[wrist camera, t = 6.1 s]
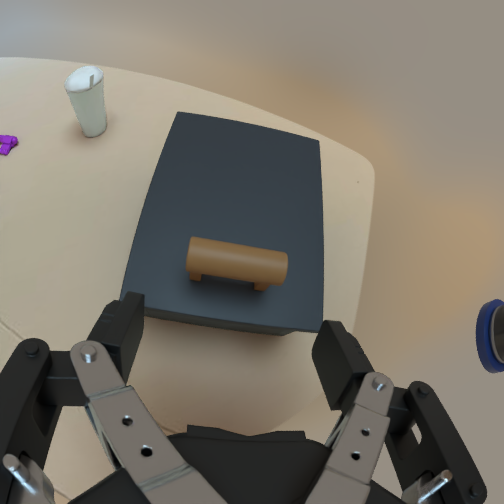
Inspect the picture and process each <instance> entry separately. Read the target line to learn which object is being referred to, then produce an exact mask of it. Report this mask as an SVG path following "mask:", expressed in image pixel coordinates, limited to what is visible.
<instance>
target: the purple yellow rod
mask: <svg viewBox="0 0 504 504" xmlns="http://www.w3.org/2000/svg"><path fill="white" fill-rule="evenodd" d="M17 141H18V139H17V137H15V136H9V135H0V142H2V143H3V144H2V146H1V148H0V154H5V155H7V154H8V152H9V150H10V148H11V147H14V145H15V144H16V143H17Z"/></svg>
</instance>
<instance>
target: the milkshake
mask: <svg viewBox="0 0 504 504" xmlns="http://www.w3.org/2000/svg"><path fill="white" fill-rule="evenodd" d="M64 87H65V89H66V92H67V94H68V97H69V99H70V102H71V104H72V106H73V109H74V112H75V114H76V117H77V119H78V122H79V124H80V127H81V129H82V132H83V133H84V134H85V136H86V137H95V136H98V135H100V134H101V133H102V132H103V131H105V130H106V125H107V122H106V112H105V101H104V82H103V72H102V70H101V69H99V68H98V67H95V66H84V67H81V68H79V69H77V70H75V71H74V72H73V73H72V74H71V75H70V76H69V77H68V78H67V79H66V81H65V84H64Z"/></svg>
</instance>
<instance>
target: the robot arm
mask: <svg viewBox="0 0 504 504" xmlns="http://www.w3.org/2000/svg"><path fill="white" fill-rule="evenodd" d="M144 306H145V295H144V294H141V293H136V292H131V291H127V293H126V294H125V296H124V298H123V300H122V301H118V300H114V301H112V302H111V303H109V304H108V305H106V307H105V308H104V310H103V312H102V314H101V315H100V317H99V319H98V320H97V322H96V324H95V325H94V327H93V329H92V331H91V332H90V334H89V336H88V338H87V340H86V341H81V342H79V343H77V344H75V345H74V346H73V347H72V349H71V351H50V349H49V346H48V344H47V343H46V342H45V341H43V340H41V339H37V338H30V339H26V340H24V341H22V342H20V343H19V344H18V346H17V347H16V349H15V350H14V352H13V353H12V355H11V357H10V358H9V360H8V361H7V363H6V365H5V366H4V368H3V370H2V371H1V373H0V504H55V501H54V488H53V485H52V483H51V481H50V479H49V478H48V477H47V476H46V475H45V473H44V472H43V469H44V465H45V462H46V458H47V454H48V451H49V447H50V444H51V441H52V437H53V434H54V431H55V428H56V425H57V422H58V419H59V416H60V413H61V410H62V407H63V406H84V409H85V411H86V413H87V415H88V418H89V420H90V422H91V424H92V426H93V428H94V430H95V432H96V434H97V436H98V438H99V440H100V443H101V445H102V447H103V449H104V451H105V453H106V456H107V458H108V459H109V461H110V463H111V465H112V467H113V468H114V470H115V472H113V473H112V474H110V475H109V476H107V477H106V478H105V479H103V480H102V481H100V482H99V483H97V484H96V485H94V486H93V487H91V488H90V489H88V490H87V491H85V492H84V493H82V494H81V495H79V496H77V497H76V498H74V499H73V500H71V501H70V502H68V504H483V503H484V502H485V500H486V498H487V489H486V486H485V484H484V482H483V479H482V477H481V475H480V473H479V471H478V469H477V467H476V465H475V463H474V461H473V459H472V457H471V456H470V454H469V452H468V450H467V448H466V446H465V445H464V442H463V440H462V439H461V437H460V435H459V433H458V431H457V430H456V428H455V426H454V424H453V422H452V421H451V419H450V417H449V415H448V414H447V412H446V410H445V409H444V407H443V406H442V404H441V402H440V400H439V398H438V397H437V395H436V393H435V392H434V390H433V389H432V388H431V387H430V386H429V385H428V384H426V383H424V382H421V381H414V382H412V383H411V384H410V386H409V387H408V389H404V388H399V387H394V385H393V383H392V381H391V380H390V379H389V378H388V377H387V376H386V375H384V374H381V373H379V372H375V371H374V369H373V367H372V365H371V364H370V362H369V360H368V358H367V356H366V355H365V354H364V351H363V350H362V348H361V346H360V344H359V343H358V341H357V339H356V338H355V337H354V336H352V335H351V334H350V333H349V332H347V331H346V330H345V328H344V326H343V324H342V323H341V322H340V321H331V320H324V321H323V323H322V325H321V327H320V330H319V332H318V335H317V337H316V340H315V342H314V345H313V348H312V359H313V362H314V365H315V367H316V370H317V373H318V376H319V379H320V381H321V384H322V387H323V390H324V392H325V395H326V398H327V401H328V404H329V406H330V409H331V410H341V411H342V414H341V415H340V417H339V419H338V420H337V422H336V424H335V427H334V428H333V430H332V432H331V434H330V436H329V437H328V439H327V441H326V443H325V445H323V444H321V443H319V442H316V441H313V440H310V439H306V437H305V432H304V431H275V432H270V433H265V434H259V435H254V436H245V435H241V434H237V433H233V432H230V431H226V430H223V429H219V428H213V427H203V426H195V425H187V432H186V433H178V434H173V435H169V436H166V435H165V434H164V433H163V431H162V430H161V428H160V427H159V426H158V424H157V423H156V421H155V420H154V418H153V417H152V415H151V414H150V412H149V411H148V409H147V408H146V406H145V405H144V403H143V402H142V400H141V399H140V397H139V396H138V394H137V392H136V391H135V389H134V388H133V387H132V386H131V385H129V386H126V384H127V381H128V377H129V374H130V371H131V368H132V365H133V362H134V359H135V356H136V353H137V350H138V347H139V344H140V341H141V338H142V335H143V329H144ZM488 336H489V344H490V349H491V352H492V355H493V357H494V359H495V360H496V361H497V362H498V363H500V364H504V305H501V306H498V307H496V308H495V309H494V310H493V311H492V313H491V316H490V320H489V328H488ZM415 423H417V426H418V428H419V430H420V432H421V435H422V439H421V442H420V444H418V442H417V440H416V437H415V435H414V433H413V431H412V429H411V428H412V427H413V426H414V425H415ZM384 442H385V444H386V447H387V449H388V452H389V455H390V457H391V460H392V463H393V466H394V468H395V471H396V474H397V477H398V480H399V483H400V485H401V488H402V491H403V493H402V497H401V499H400V498H398V497H397V496H395V495H394V494H392V493H390V492H389V491H388V490H386V489H384V488H383V487H382V486H380V485H379V484H378V483H376V482H375V481H373V480H372V479H371V478H372V475H373V472H374V469H375V467H376V464H377V461H378V458H379V455H380V452H381V449H382V446H383V443H384Z"/></svg>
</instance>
